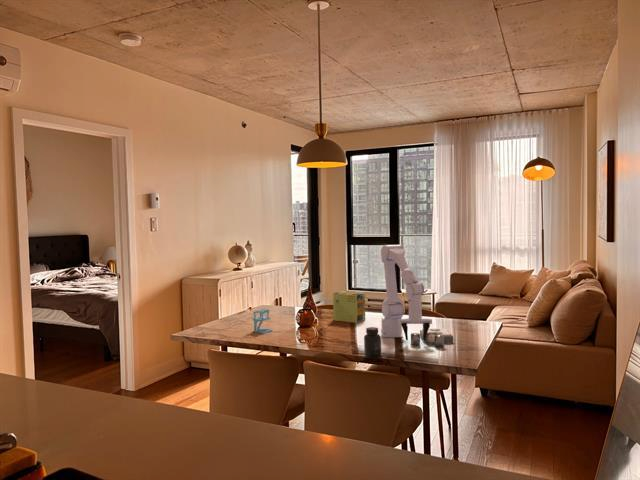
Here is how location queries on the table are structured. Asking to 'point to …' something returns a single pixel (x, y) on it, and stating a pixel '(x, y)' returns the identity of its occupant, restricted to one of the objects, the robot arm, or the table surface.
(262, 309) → the teal open frame stand
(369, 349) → the supplement bottle
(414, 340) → the cylinder
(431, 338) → the scale
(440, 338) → the cylinder
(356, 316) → the protein box
